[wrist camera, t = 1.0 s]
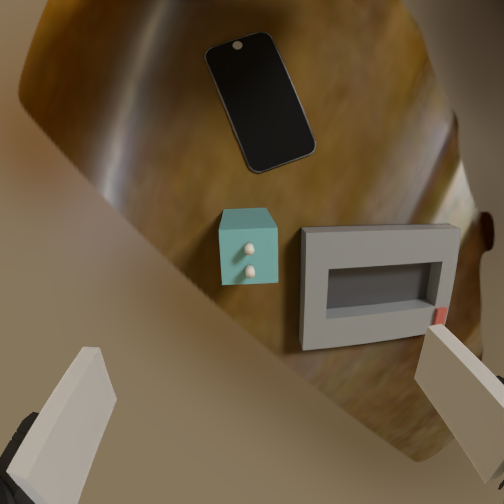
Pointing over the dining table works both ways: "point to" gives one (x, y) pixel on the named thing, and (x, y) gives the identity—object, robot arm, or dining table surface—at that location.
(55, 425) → the robot arm
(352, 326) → the grey slotted tray
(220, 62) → the smartphone
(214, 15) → the dining table surface
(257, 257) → the block
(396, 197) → the dining table surface
